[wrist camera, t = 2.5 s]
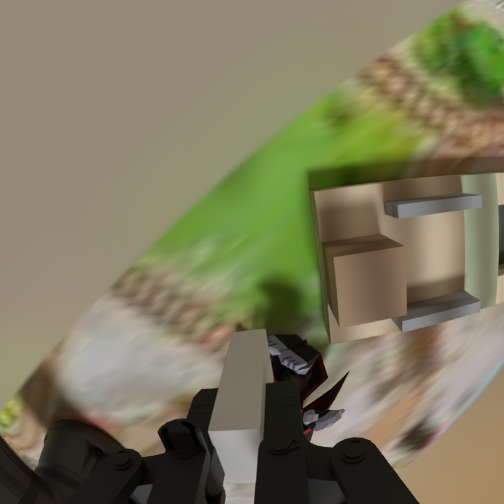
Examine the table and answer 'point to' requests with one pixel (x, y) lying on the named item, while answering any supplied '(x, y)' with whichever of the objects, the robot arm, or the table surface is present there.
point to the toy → (304, 379)
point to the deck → (422, 243)
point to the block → (365, 279)
